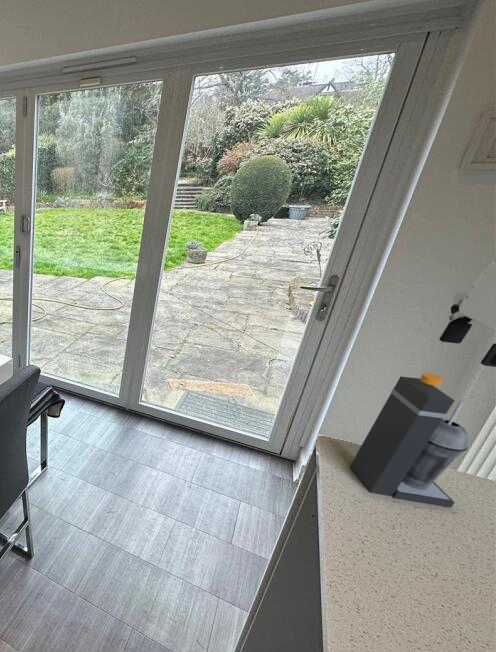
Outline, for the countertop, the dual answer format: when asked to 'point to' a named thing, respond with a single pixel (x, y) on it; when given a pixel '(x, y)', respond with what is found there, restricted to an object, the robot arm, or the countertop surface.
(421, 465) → the beverage cup
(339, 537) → the countertop surface
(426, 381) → the brew button
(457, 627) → the countertop surface
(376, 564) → the countertop surface
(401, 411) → the espresso machine
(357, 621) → the countertop surface
